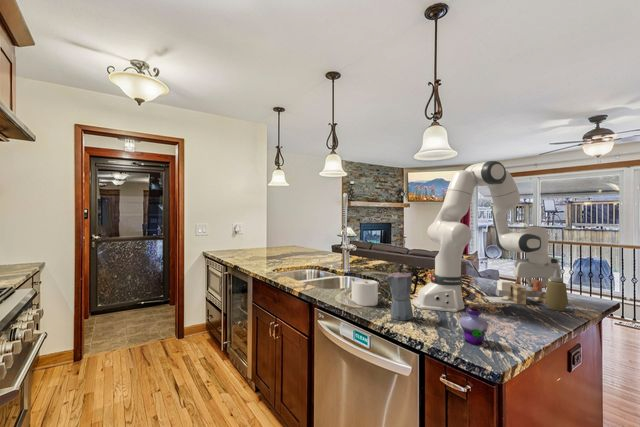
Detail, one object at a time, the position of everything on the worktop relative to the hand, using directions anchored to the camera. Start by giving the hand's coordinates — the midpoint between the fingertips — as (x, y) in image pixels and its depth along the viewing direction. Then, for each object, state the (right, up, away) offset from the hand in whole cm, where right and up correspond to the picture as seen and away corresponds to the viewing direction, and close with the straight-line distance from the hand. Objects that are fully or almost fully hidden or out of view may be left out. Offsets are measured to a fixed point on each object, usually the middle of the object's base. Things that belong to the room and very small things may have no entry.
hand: (536, 287), depth 146 cm
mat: (-17, -7, +1) cm, 19 cm away
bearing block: (-10, -7, +1) cm, 13 cm away
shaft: (-8, -5, +1) cm, 10 cm away
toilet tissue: (-85, -7, -5) cm, 86 cm away
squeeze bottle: (0, -7, -12) cm, 14 cm away
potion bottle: (-56, -6, -48) cm, 74 cm away
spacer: (-15, -2, +1) cm, 16 cm away
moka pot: (-73, -7, -24) cm, 77 cm away
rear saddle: (+3, -7, 0) cm, 8 cm away
